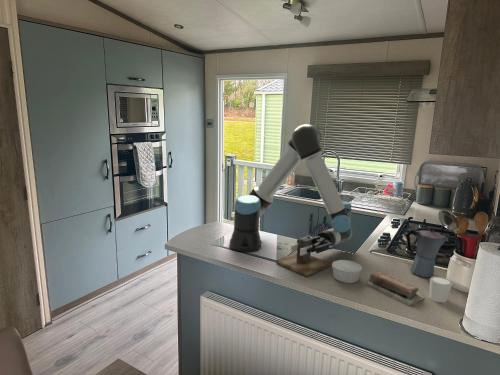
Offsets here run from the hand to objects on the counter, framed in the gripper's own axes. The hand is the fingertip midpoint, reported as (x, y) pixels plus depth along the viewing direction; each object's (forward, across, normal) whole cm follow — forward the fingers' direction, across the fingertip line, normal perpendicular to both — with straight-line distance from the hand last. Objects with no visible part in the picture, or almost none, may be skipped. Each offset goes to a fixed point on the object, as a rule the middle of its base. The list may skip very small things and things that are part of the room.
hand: (296, 250), depth 140 cm
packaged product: (-14, -35, -8) cm, 39 cm away
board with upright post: (-5, 0, -8) cm, 9 cm away
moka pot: (-38, -36, -8) cm, 53 cm away
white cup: (-21, -48, -8) cm, 53 cm away
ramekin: (-9, -18, -8) cm, 22 cm away
